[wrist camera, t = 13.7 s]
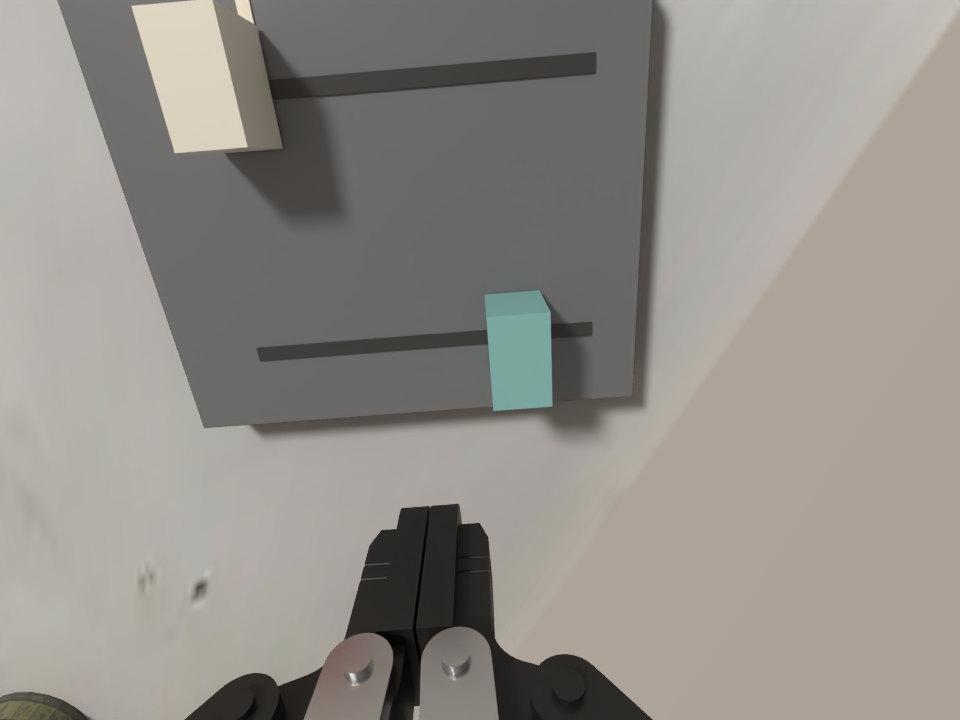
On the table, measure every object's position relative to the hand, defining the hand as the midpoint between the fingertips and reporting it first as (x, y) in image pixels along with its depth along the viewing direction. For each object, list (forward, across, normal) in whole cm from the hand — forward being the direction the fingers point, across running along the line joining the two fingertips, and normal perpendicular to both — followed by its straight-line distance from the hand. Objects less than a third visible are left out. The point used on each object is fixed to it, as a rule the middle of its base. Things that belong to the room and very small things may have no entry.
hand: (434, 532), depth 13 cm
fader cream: (+16, +9, -12) cm, 22 cm away
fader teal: (+16, -3, +1) cm, 16 cm away
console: (+19, +3, -6) cm, 20 cm away
